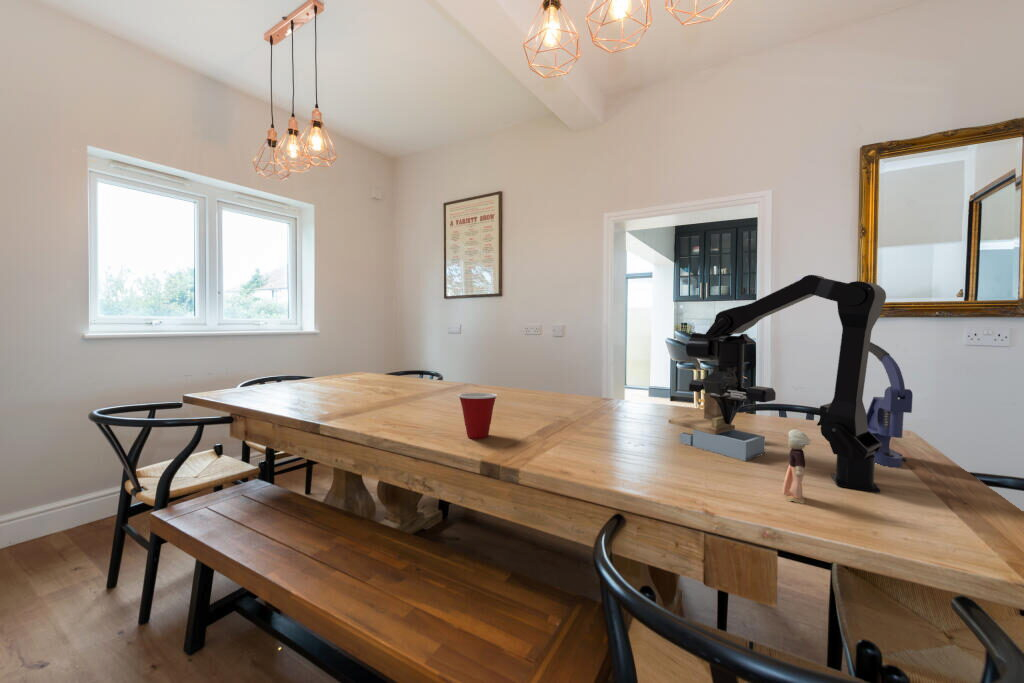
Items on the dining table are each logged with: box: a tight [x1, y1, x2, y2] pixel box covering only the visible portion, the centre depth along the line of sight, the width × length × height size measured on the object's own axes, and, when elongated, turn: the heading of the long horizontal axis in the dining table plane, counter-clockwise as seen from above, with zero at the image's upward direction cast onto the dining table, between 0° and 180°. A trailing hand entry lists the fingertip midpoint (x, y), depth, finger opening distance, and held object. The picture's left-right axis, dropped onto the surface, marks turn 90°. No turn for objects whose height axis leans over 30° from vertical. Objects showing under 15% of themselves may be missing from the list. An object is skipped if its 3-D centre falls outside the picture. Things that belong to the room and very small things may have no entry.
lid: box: [668, 415, 736, 435], centre depth 106 cm, size 13×9×4 cm
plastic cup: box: [457, 392, 498, 440], centre depth 111 cm, size 11×11×12 cm
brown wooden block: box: [703, 392, 723, 420], centre depth 112 cm, size 4×4×14 cm
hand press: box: [866, 341, 914, 469], centre depth 95 cm, size 19×9×28 cm, turn 164°
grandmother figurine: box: [781, 428, 811, 504], centre depth 72 cm, size 8×4×13 cm, turn 159°
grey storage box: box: [679, 428, 766, 462], centre depth 102 cm, size 17×9×4 cm, turn 34°
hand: (728, 424), depth 100 cm, fingers closed
